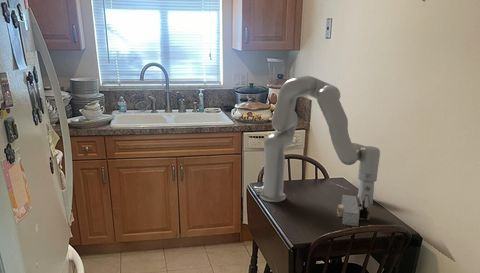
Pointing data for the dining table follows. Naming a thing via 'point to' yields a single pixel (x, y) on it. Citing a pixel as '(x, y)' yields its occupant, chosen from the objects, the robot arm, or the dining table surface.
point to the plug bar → (340, 211)
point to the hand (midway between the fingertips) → (362, 215)
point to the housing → (350, 210)
